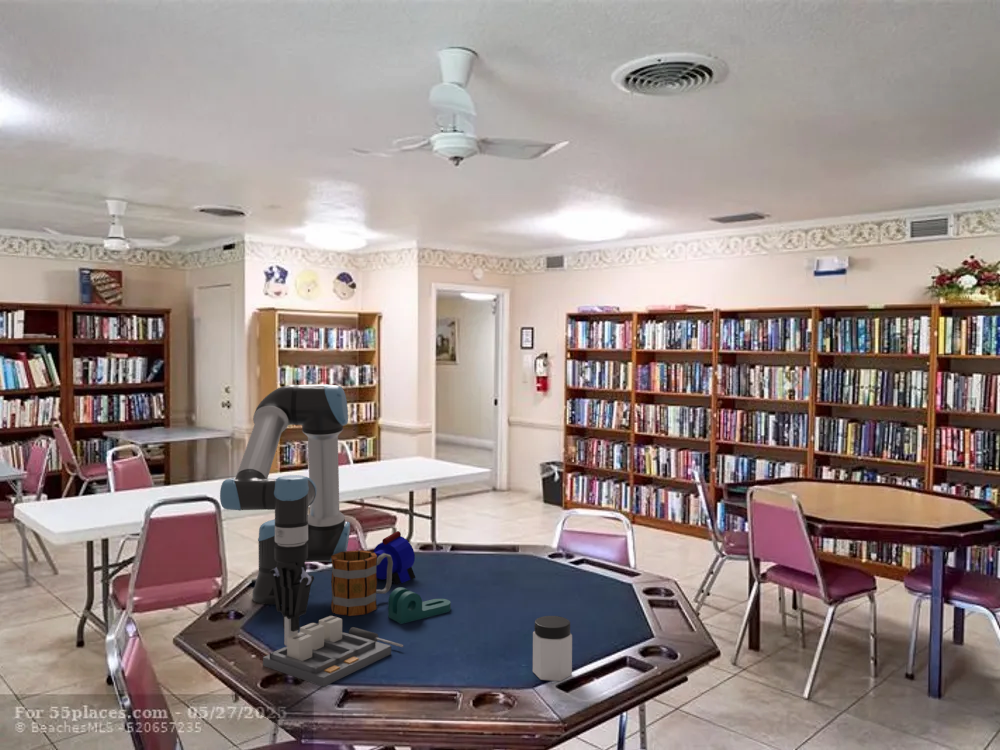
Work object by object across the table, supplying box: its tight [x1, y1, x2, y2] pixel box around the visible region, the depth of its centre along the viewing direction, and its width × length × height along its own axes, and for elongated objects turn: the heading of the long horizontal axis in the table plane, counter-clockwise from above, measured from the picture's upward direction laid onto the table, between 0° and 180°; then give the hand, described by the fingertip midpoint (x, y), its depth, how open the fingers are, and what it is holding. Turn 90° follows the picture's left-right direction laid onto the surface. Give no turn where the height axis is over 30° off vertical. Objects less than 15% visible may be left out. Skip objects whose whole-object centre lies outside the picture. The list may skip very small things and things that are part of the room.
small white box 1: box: [286, 631, 312, 661], centre depth 172 cm, size 4×4×5 cm
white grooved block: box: [299, 622, 324, 650], centre depth 179 cm, size 4×4×5 cm
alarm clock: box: [373, 530, 416, 586], centre depth 243 cm, size 12×12×15 cm
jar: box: [532, 615, 573, 682], centre depth 170 cm, size 9×8×12 cm
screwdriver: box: [348, 626, 404, 648], centre depth 188 cm, size 17×2×2 cm, turn 57°
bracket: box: [387, 586, 451, 625], centre depth 210 cm, size 18×7×8 cm, turn 129°
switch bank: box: [262, 631, 392, 688], centre depth 177 cm, size 20×22×3 cm
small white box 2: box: [318, 615, 343, 642], centre depth 184 cm, size 4×4×5 cm
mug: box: [330, 549, 393, 617], centre depth 216 cm, size 20×14×15 cm
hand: (291, 643), depth 174 cm, fingers closed
